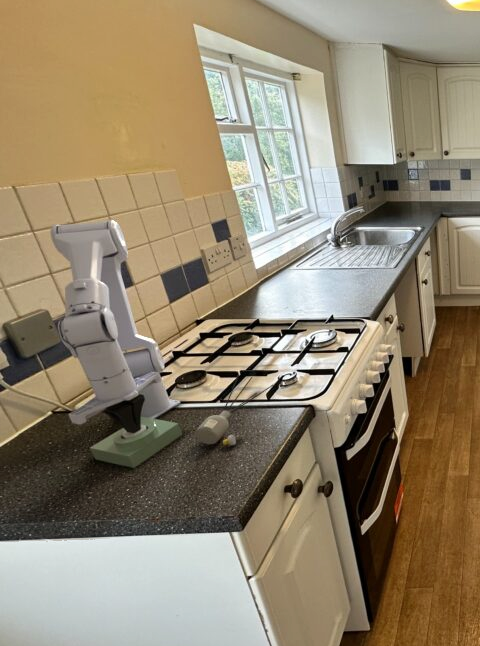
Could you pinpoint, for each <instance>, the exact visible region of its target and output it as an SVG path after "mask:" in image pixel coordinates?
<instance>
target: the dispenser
mask: <svg viewBox="0 0 480 646" xmlns="http://www.w3.org/2000/svg"><path fill="white" fill-rule="evenodd" d="M141 425H145V426H146V428H147V431H146V432H145V433H143V434H141V435H140V436H137V437H134V438H131V439H124V438H123V435H122V434H123V432H124V431H125V429H124V428H123V427H122V428H120V429H118V430H117V431H116V432H114V433H112V434H111V435H109V436H108V437H105V438H104V439H102V440H100V441H99V442H97V443H95V444H93V445H92V446H90V447H89V449H90V451H91V453H92V455H93V457H94V460H95V461H96V460H97V461H101V462H106V463H110V464H113V465H119V466H122V467H123V466H124V467H128V468H133V469H135V468H137V466H139V465H140V464H142V463H143V462H145V461H146V460H148V459H149V458H151V457H152V456H153V455H155V454H157V453H158V452H159V451H161V450H162V449H163V448H165V447H166V446H169V445H170V444H171V443H172V442H174V441H175V440H177V439H179V437H181V436H182V435H183V432H182V429H181V426H180V424H179V423H178V422H173V421H167V420H163V419H157V418H155V419H152V418H147V417H141Z"/></svg>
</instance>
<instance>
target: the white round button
mask: <svg viewBox="0 0 480 646" xmlns="http://www.w3.org/2000/svg"><path fill="white" fill-rule="evenodd" d="M146 431H147V428H146V426H145V425H141V430H139V431H137V432H136V433H129V432H126V430H125V431H124V432H123V434H122V435H123V438H124V439H131V438H134V437H137V436H140V435H141V434H143V433H145V432H146Z"/></svg>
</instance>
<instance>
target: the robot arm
mask: <svg viewBox="0 0 480 646" xmlns="http://www.w3.org/2000/svg"><path fill="white" fill-rule="evenodd" d="M123 233H124V232H123V231H122V229H121V226H120V225H119V224H118V222H116V221H114V220H113V219H109V220H106V221H95V222H83V223H73V224H71V223H70V224H53V225H52V227H51V228H50V239H51V242H52V244H53V246H54V248H55V249H56V251H57V252H58V253H59V254H60V255H61V256H63V257H64V258H65V259H66V260H67V261H68V262H69V264H70V271H71V275H72V281H71V282H69V283H68V284H66V286H65V287H64V307H65V309H64V310H65V311H64V312H65V315H64V318H63V319H60V320H59V321H58V323H57V329H58V334H59V336H60V340H61V342H62V344H63V345H64V346H65V347H66V348H67V349H68V350H69V352H70V353H71V355H72V357H73V358H74V359H77V360H78V361H79V364H80V366H81V368H82V370H83V372H84V374H85V376H86V379H87V381H88V383H89V385H90V387H91V389H92V392H93V393H94V397H92V398H91V399H89V400H88V401H87V402H86V403H84V404H82V406H80V407H78V408H77V409H75V410H73V411H71V412H70V413H68V415H67V416H68V417H69V419H70V422H71V423H72V424H75V425H79V426H80V425H83V424H85V423H86V422H87V420H88V419H91V418H92V417H94V416H96V415H98V414H99V413H102V414H104V415H107V416H108V417H109V418H111V419H113V420H114V421H115V422H117V424H119V425H120V426H121V427H122V428H124V429H125V430H126V432H129V433H136V432H137V431H139V430H141V417H147V418H152V419H157V418H158V417H160V416H162V415H164V414H165V413H167V412H168V411H170V410H171V409H173V408H175V407H177V406H178V405H180V404H181V401H180V400H177V399H172V398H170V397H169V395H168V392H167V390H166V387H165V385H164V384H165V383H164V382H163V379H162V377H161V373H163V371H164V370H165V360H164V356H163V354H162V352H161V350H160V348H159V345H158V342H157V341H156V340H154V339H153V338H150V337H147V336H143V335H140V334H139V332H138V329H137V326H136V321H135V319H134V315H133V312H132V307H131V305H130V301H129V297H128V294H127V291H126V287H125V284H124V280H123V277H122V269H121V264H122V263H123V262H125V261H127V260H128V259H129V256H128V255H129V251H128V248H127V244H126V240H125V237H124V234H123ZM139 348H142V349H139ZM135 349H137V350H135ZM130 350H132V351H130ZM125 351H127V352H125Z"/></svg>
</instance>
